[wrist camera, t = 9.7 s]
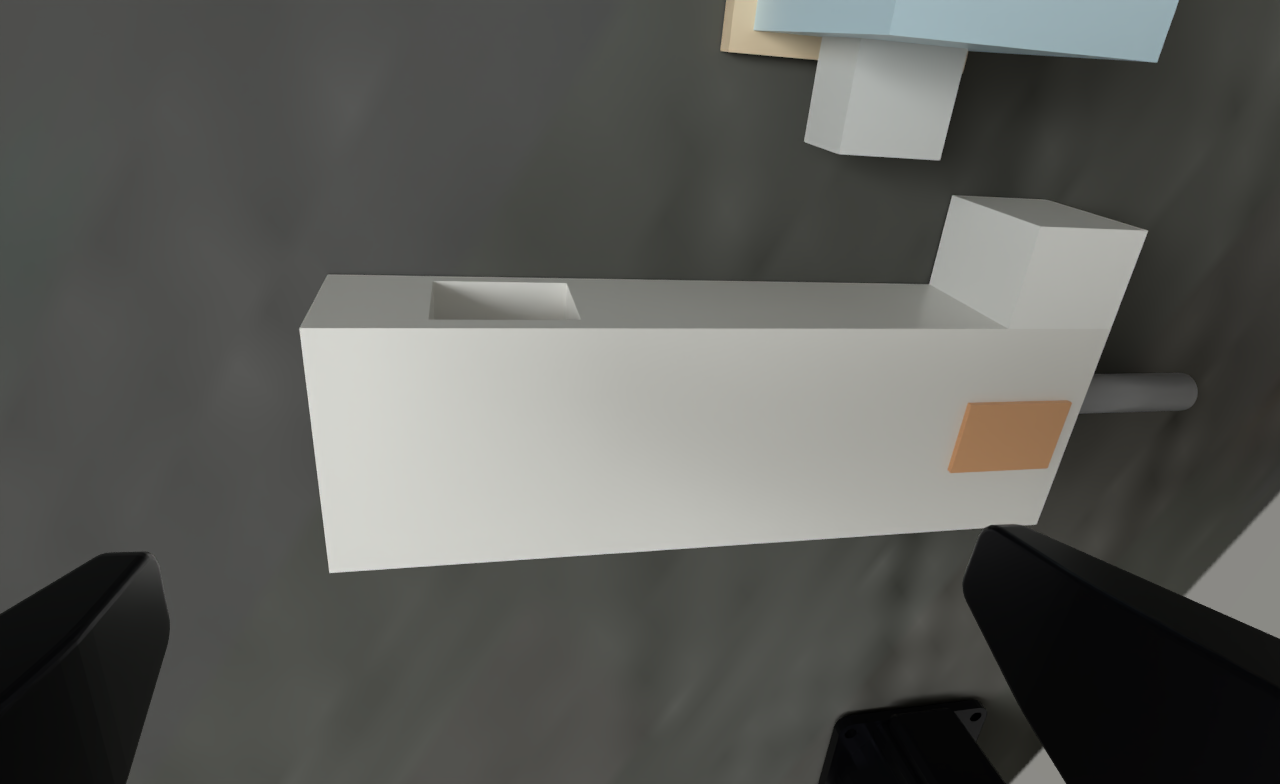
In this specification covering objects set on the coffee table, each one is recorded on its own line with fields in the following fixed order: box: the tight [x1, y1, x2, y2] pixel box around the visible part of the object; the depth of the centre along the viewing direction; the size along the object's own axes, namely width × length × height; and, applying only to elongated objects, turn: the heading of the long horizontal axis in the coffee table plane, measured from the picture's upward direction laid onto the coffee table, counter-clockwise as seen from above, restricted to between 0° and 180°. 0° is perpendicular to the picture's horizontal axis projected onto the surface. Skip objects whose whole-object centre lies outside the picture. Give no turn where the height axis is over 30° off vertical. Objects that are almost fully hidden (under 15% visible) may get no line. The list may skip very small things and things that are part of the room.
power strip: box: [299, 195, 1198, 573], centre depth 19 cm, size 8×25×4 cm, turn 86°
